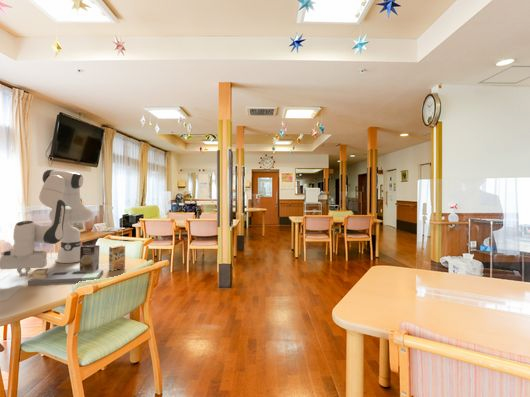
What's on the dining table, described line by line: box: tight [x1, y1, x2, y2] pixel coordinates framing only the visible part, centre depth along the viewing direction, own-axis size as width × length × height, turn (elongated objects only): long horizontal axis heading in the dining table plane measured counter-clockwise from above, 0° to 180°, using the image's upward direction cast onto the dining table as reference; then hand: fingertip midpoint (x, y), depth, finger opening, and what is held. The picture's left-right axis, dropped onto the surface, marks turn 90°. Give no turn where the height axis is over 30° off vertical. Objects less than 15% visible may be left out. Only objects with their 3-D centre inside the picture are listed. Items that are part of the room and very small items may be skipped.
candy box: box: [108, 244, 126, 272], centre depth 182 cm, size 9×4×15 cm, turn 150°
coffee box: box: [79, 244, 100, 271], centre depth 178 cm, size 9×6×16 cm
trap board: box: [27, 269, 104, 286], centre depth 160 cm, size 16×32×2 cm, turn 108°
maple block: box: [32, 267, 49, 279], centre depth 153 cm, size 5×5×4 cm
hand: (23, 276), depth 150 cm, fingers closed
